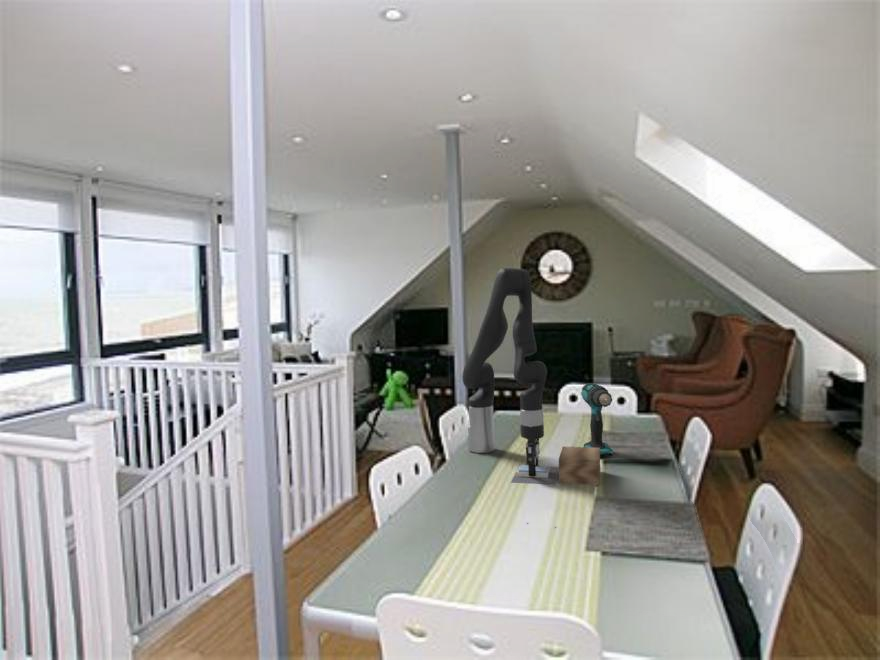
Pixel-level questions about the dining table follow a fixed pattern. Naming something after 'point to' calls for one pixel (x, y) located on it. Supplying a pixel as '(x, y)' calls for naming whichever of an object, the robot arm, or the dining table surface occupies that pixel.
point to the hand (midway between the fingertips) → (533, 472)
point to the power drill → (596, 414)
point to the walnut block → (579, 465)
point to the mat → (537, 480)
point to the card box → (540, 471)
